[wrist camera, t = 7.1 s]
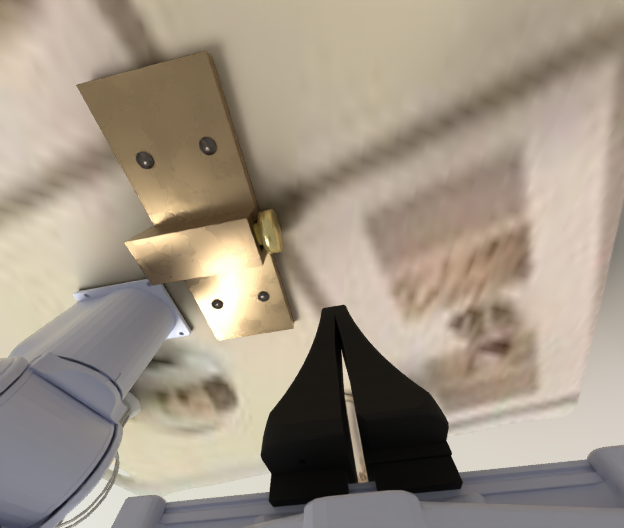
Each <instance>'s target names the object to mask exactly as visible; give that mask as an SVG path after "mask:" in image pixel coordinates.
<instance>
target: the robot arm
mask: <svg viewBox="0 0 624 528" xmlns="http://www.w3.org/2000/svg"><path fill="white" fill-rule="evenodd" d="M149 282H150V281H149V280H148V279H143V280H137V281H132V282H126V283H121V284H115V285H110V286H104V287H99V288H93V289H88V290H82V291H77V292H76V293H74V294H73V297H74V298H75V299H76V300H77V302H78V303H76V304H75V305H73V306H72V307H71V308H69V309H68V310H66V311H65V312H63V313H62V314H61V315H59V316H58V317H56V318H55V319H54V320H52V321H51V322H49V323H48V324H46V325H45V326H44V327H42V328H41V329H39V330H38V331H37V332H35V333H34V334H32V335H31V336H29V337H28V338H27V339H25V340H24V341H22V342H21V343H20V344H19V345H18V346H17V347H16V348H15V349H14V350H13V351H12V352H11V353H10V355H9V356H8V358H2V359H0V528H54V527H55V526H56V525H57V524H58V523H59V522H60V521H61V520H62V519H63V518H64V517H65V516H66V515H67V514H68V513H69V512H70V511H71V510H72V509H74V508H75V507H76V506H77V505H78V504H79V503H80V502H81V501H82V500H83V499H84V498H85V497H86V496H87V495H88V494H89V493H90V492H91V491H92V490H93V488H94V487H95V486H96V485H97V483H98V482H99V481H100V480H101V478H102V477H103V476H104V474H105V473H106V471H107V470H108V468H109V466H110V465H111V463H112V461H113V459H114V457H115V455H116V453H117V451H118V448H119V445H120V442H121V439H122V435H123V428H122V425H121V424H120V423H119V422H118V421H119V419H120V418H121V416H122V415H123V414H124V412H125V411H126V409H127V407H126V406H124V405H123V403H122V400H123V399H124V397H125V396H126V395H127V393H128V392H129V390H130V389H131V388H132V386H133V385H134V383H135V382H136V381H137V379H138V378H139V376H140V375H141V374H142V372H143V371H144V369H145V368H146V367H147V365H148V364H149V362H150V361H151V360H152V358H153V357H154V355H155V354H156V353H157V351H158V350H159V348H160V347H161V346H162V344H163V343H164V341H165V340H166V339H170V338H176V337H183V336H188V335H190V333H191V329H190V328H189V326H188V325H187V323H186V321H185V320H184V318H183V317H182V315H181V313H180V312H179V310H178V308H177V307H176V305H175V304H174V302H173V300H172V299H171V297H170V296H169V294H168V292H167V291H166V289H165V287H164V286H163V284H159V285H154V286H152V285H151V284H150V283H149ZM341 350H342V353H343V357H344V361H345V365H346V369H347V372H348V376H349V380H350V384H351V389H352V395H353V401H354V406H355V412H356V418H357V423H358V428H359V434H360V439H361V444H362V450H363V456H364V461H365V467H366V472H367V477H368V482H362V483H358V477H357V471H356V464H355V458H354V452H353V446H352V439H351V433H350V426H349V420H348V414H347V407H346V400H345V394H344V384H343V369H342V354H341ZM448 428H449V426H448V421H447V419H446V417H445V415H444V414H443V412H442V410H441V409H440V407H439V406H438V404H437V403H436V401H435V400H434V399H433V397H432V396H431V395H430V394H429V392H427V391H426V390H424V389H423V388H421V387H420V386H418V385H417V384H416V383H414V382H413V381H412V380H410V379H409V378H408V377H406V376H405V375H404V374H403V373H401V372H400V371H399V370H398V369H397V368H396V367H394V366H393V365H392V364H391V363H390V362H389V361H388V360H386V359H385V358H384V357H383V356H382V355H381V354H380V353H379V352H378V351H377V350H376V349H375V347H374V346H373V345H372V344H371V343H370V342H369V341H368V339H367V338H366V337H365V336H364V335H363V333H362V332H361V331H360V329H359V328H358V326H357V325H356V324H355V322H354V321H353V319H352V317H351V316H350V314H349V312H348V310H347V308H346V306H345V305H340V306H334V307H328V308H323V309H322V312H321V318H320V323H319V326H318V330H317V333H316V336H315V339H314V341H313V344H312V347H311V349H310V351H309V354H308V356H307V358H306V360H305V362H304V364H303V366H302V368H301V369H300V371H299V373H298V375H297V376H296V378H295V380H294V381H293V383H292V384H291V386H290V387H289V389H288V390H287V392H286V393H285V395H284V396H283V397H282V399H281V400H280V401H279V402H278V404H277V405H276V406H275V407H274V409H273V410H272V411H271V412H270V414H269V417H268V420H267V424H266V427H265V431H264V436H263V442H262V450H261V458H262V460H263V462H264V463H265V465H266V466H267V468H268V469H269V471H270V472H271V483H270V492H265V493H255V494H245V495H235V496H226V497H216V498H207V499H196V500H187V501H177V502H167V503H166V501H165V500H164V499H163V498H162V497H160V496H156V495H146V496H138V497H128V498H127V499H126V500H125V502H124V504H123V506H122V508H121V510H120V512H119V514H118V515H117V518H116V520H115V521H114V523H113V525H112V527H111V528H624V445H619V446H611V447H602V448H598V449H596V450H593V451H592V452H591V453H590V454H589V455H588V457H587V460H578V461H568V462H558V463H548V464H538V465H528V466H519V467H509V468H499V469H490V470H480V471H470V472H460V473H459V472H458V470H457V468H456V466H455V464H454V461H453V459H452V457H451V455H452V453H451V450H450V448H449V445H448V443H447V441H446V439H447V434H448Z"/></svg>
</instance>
